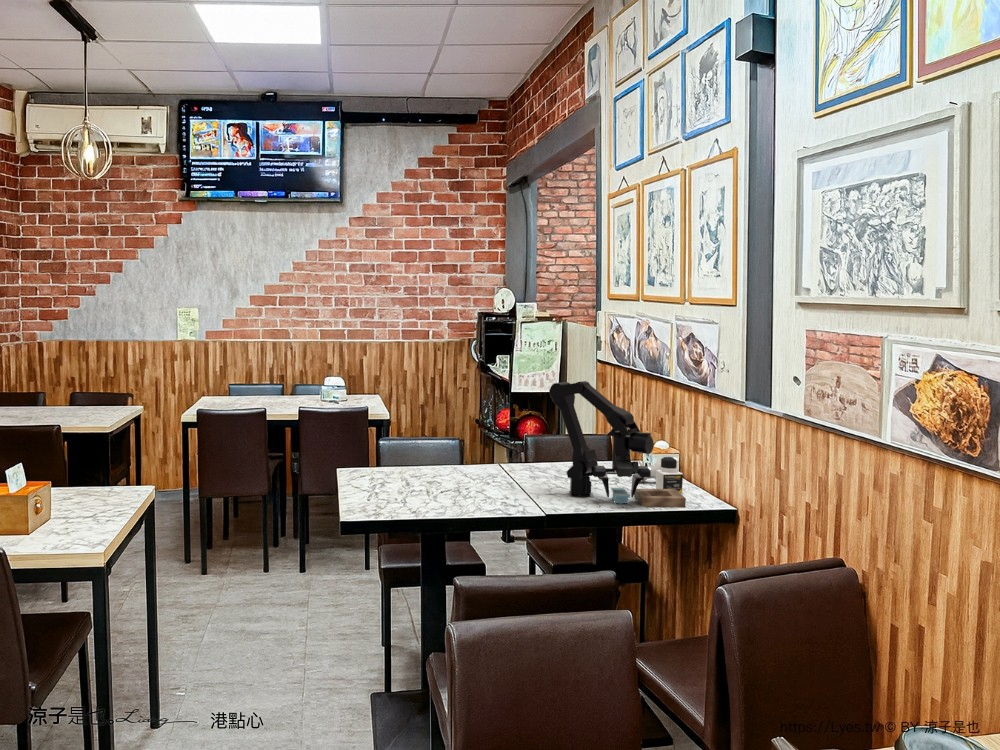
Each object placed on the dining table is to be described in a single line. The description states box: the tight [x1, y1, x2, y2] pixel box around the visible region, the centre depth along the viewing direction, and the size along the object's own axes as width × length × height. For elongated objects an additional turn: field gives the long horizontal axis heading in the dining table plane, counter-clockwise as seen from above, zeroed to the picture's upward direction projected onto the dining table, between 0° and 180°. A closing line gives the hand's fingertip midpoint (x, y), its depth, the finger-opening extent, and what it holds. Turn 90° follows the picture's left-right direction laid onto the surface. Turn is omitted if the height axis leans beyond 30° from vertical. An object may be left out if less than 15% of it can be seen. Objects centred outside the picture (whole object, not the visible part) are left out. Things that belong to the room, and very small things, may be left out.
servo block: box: [611, 487, 631, 504], centre depth 301 cm, size 4×11×4 cm, turn 3°
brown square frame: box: [633, 488, 687, 508], centre depth 301 cm, size 14×14×3 cm
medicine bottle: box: [655, 456, 684, 495], centre depth 317 cm, size 7×7×12 cm
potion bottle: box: [640, 458, 680, 483], centre depth 332 cm, size 9×10×15 cm
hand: (620, 497), depth 301 cm, fingers open, 8 cm apart
